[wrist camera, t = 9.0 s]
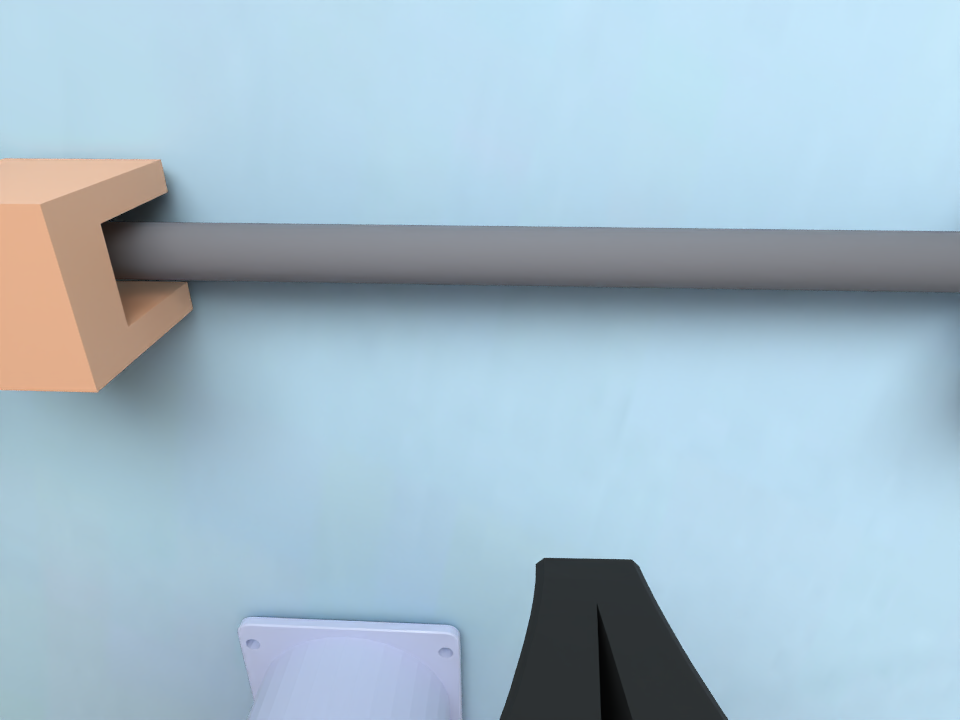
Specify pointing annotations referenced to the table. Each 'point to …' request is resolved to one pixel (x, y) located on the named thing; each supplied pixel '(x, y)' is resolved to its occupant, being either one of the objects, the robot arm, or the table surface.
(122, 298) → the sleeve
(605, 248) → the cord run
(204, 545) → the table surface
